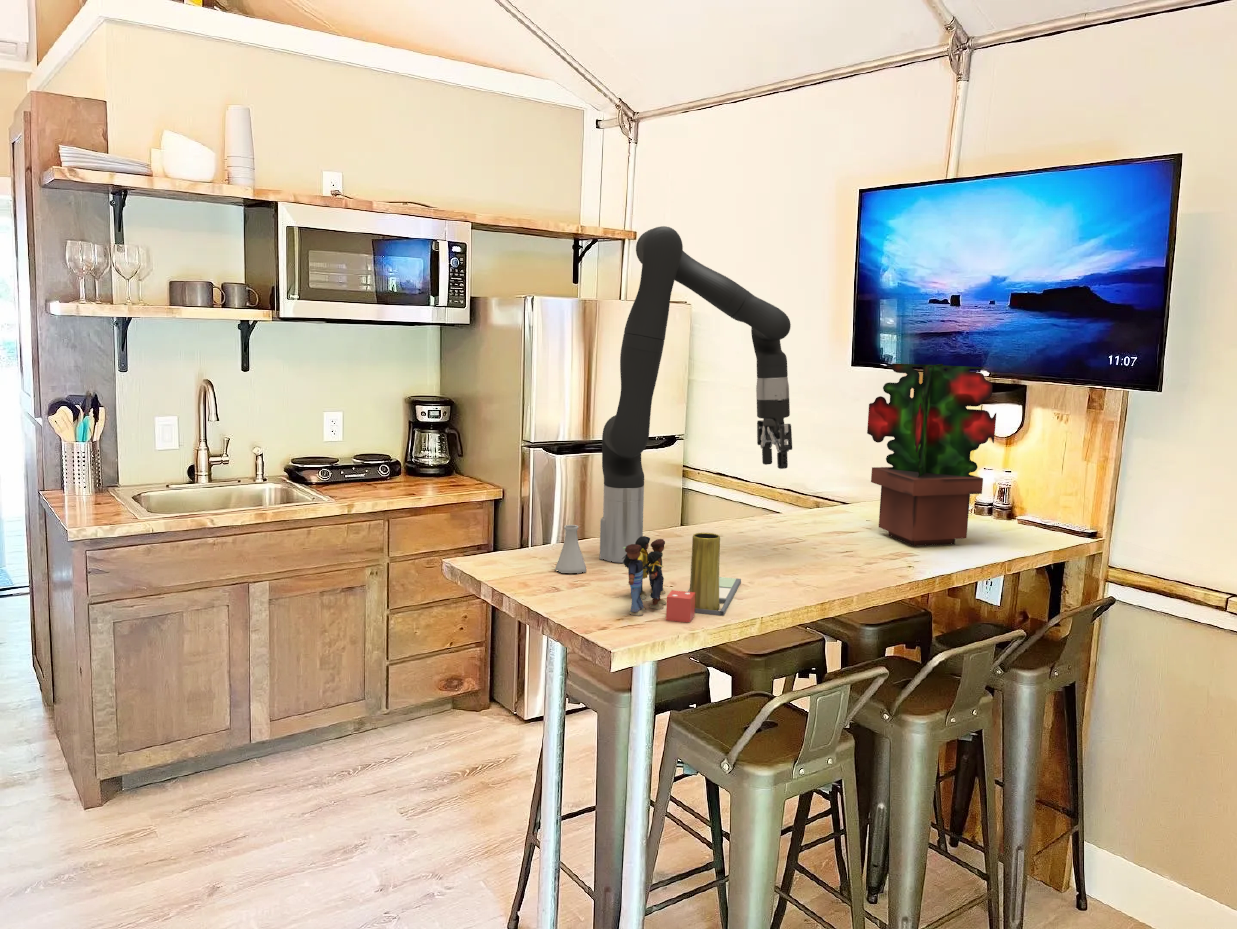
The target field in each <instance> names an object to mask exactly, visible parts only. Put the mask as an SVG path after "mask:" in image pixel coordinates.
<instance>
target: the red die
mask: <svg viewBox="0 0 1237 929" xmlns="http://www.w3.org/2000/svg"><path fill="white" fill-rule="evenodd" d="M665 612H666V613H665V620H666V621H671V622H680V623H688V622H690V623H691V622H692V620H693V619H694V617H695V614H696V613H695V592H688V591H683V590H671V591H670V592H669V593H668V595H667V596H666V610H665Z"/></svg>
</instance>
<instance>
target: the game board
mask: <svg viewBox="0 0 1237 929" xmlns="http://www.w3.org/2000/svg"><path fill="white" fill-rule="evenodd" d="M741 583H742V579H741V578H735V577H734V578H733V577H725V576H724V577H723V576H719V604H723V605H722V607H721V608H720V610H706V609H696V608H695V614H704V615H713V616H714V615H715V616H722V617H723V616H725V614H726V612H727V610H728V608H729V607H730V604H731V603H732V601H733V598H734V597H735V595H736V592H737V591H738V589H739V587H740V585H741ZM687 592H690V588H689V589H688V590H687Z"/></svg>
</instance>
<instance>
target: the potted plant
mask: <svg viewBox="0 0 1237 929" xmlns="http://www.w3.org/2000/svg"><path fill="white" fill-rule="evenodd" d="M914 367H922V379H921V380H922V382H921V383H920V372H919V371H918V370H917V369H914ZM891 369H892V371H893V372H894V373H897V374H906V375H904V376H902V377H900V378H899V380H898V382H886V383H884V385H883V386H882V389H883V392H884V393H886V394H888V395H889V402H887V400H886V397H884V396H877V397H876V398H875V399H874V401H873V402H870V403H868V411H867V412H868V415H867V427H866V428H867V431H866V434H867V435H869V436H871V438H872V441H874V442H875V443H882V442H883V441H884V439H885V438H886V437H889V438H894V439H890V440H889V441H887V443H886V448H887V449H888V450H889V451H891V452H893V453H889V454H887V455H886V458H885V461H886V463H887V464H888V465H890V466H881V467H878V466H877V467H871V478H870V483H873V484H875V485H878V486H881V487H880V501H879V514H878V515H879V516H878V528H880V529H882V530H883V531H884V530H885V531H887V532H888V537H890V538H893V539H896V540H897V541H901V542H902V543H904V544H908V545H910V546H912V547H927V546H945V545H946V546H950V545H955V541H956V540H957V539H960V540H961V539H967V536H968V533H967V532H968V522H969V510H970V500H971V498H970V497H971V495H979V494H980V495H982V494H983V484H984V478H983V477H980V476H976V475H972V474H970V473H974V472H976V471H977V469H978V464H977V463H976V462H975V461H973V460H971V452H973V451H977V450H978V449H979V447H980V446H981V445H984V444H986V443H987V442H988V440H989V439H991V442H992V443H993V444H994V443H995V436H996V435H995V432H996V423H997V422H996V421H997V412H995V413H994V414H993V416H992V417H991V415H990V412H989V411H987V410H985V409H976V408H975V409H973V408H972V409H971V408H967V407H980V406H981V405H982V404H983V402H984V401H985V400H989V399H990V398H991V397H992V395H993V388H994V386H993V382H991V381H990V380H987V379H986V377H985V375H984V374H983V373H982V372H978V371H976V372H975V371H970V370H982V369H984V366H963V365H944V363H938V364H921V363H920V364H917V363H916V364H915V363H896V362H895V363H893V362H892V363H891ZM945 369H946V370H945ZM911 389H913V396H912V397H911V392H912V391H911Z"/></svg>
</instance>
